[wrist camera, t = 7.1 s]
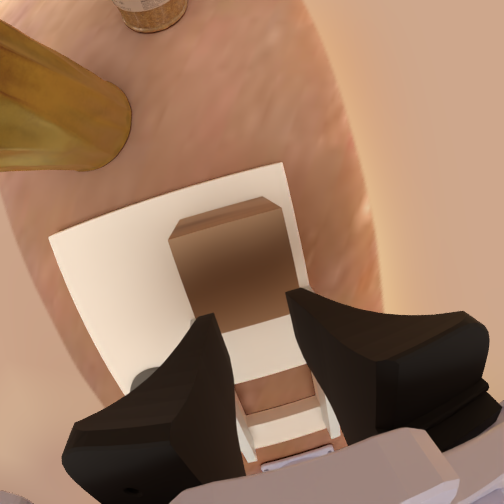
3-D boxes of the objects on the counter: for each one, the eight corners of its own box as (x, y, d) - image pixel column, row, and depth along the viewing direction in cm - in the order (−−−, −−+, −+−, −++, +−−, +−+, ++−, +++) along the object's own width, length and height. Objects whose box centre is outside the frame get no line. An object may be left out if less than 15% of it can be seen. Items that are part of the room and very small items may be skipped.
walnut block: (281, 274, 19) (304, 309, 14) (204, 296, 19) (203, 338, 14) (262, 196, 18) (281, 207, 13) (179, 219, 17) (167, 240, 13)
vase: (144, 147, 17) (-4, 118, 4) (65, 186, 17) (-108, 237, 4) (118, 66, 15) (-3, -51, 2) (42, 108, 15) (-117, 76, 2)
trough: (331, 416, 24) (340, 435, 21) (244, 441, 23) (248, 462, 21) (309, 285, 20) (322, 301, 17) (190, 319, 19) (188, 340, 17)
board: (327, 415, 25) (332, 425, 24) (174, 451, 25) (174, 462, 23) (276, 162, 19) (282, 162, 17) (58, 232, 18) (48, 237, 16)
